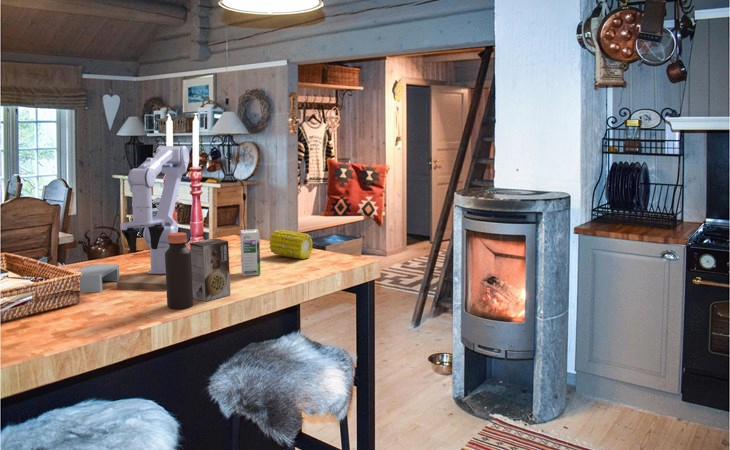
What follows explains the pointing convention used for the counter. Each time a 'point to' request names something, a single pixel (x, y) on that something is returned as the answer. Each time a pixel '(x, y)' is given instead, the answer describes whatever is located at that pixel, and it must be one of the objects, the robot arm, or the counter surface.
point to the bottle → (178, 272)
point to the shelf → (97, 276)
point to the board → (142, 283)
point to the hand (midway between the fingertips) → (143, 250)
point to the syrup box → (250, 252)
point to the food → (291, 244)
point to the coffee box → (210, 269)
